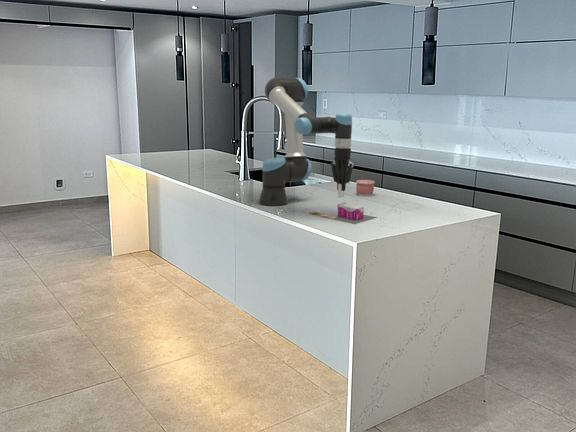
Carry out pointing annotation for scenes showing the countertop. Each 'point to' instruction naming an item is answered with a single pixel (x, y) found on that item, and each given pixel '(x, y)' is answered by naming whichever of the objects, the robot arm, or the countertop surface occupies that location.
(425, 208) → the countertop surface
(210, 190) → the countertop surface
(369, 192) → the container
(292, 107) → the robot arm
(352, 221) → the mat
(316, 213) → the turner
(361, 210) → the supplement box
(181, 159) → the countertop surface
